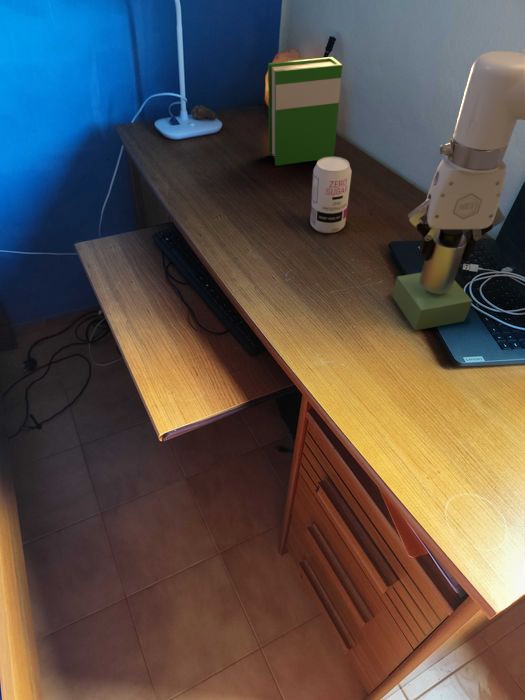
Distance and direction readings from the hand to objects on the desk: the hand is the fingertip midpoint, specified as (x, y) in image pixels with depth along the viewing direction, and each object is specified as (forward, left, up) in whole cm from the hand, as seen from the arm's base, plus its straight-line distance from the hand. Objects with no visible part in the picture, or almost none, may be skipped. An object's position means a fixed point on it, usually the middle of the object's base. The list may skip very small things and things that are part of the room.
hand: (444, 255), depth 80 cm
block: (0, 0, -12) cm, 12 cm away
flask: (0, 0, -6) cm, 6 cm away
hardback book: (+22, -68, -12) cm, 73 cm away
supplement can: (+17, -30, -12) cm, 37 cm away
